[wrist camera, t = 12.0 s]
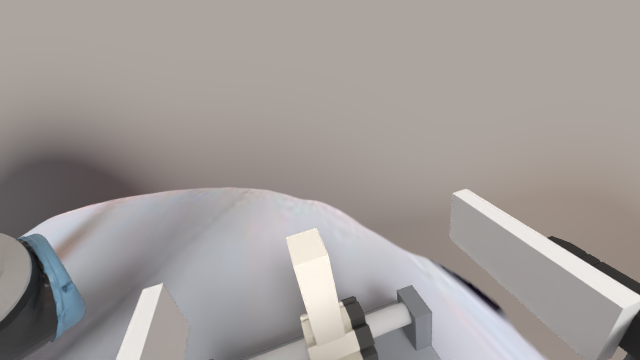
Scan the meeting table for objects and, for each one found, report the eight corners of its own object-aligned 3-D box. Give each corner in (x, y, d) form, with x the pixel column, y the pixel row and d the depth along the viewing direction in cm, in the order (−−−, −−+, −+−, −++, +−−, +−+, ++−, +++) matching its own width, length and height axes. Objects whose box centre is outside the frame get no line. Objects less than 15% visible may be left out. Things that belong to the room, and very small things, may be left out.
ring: (367, 382, 30) (360, 343, 27) (345, 326, 36) (337, 288, 33) (380, 376, 30) (375, 337, 27) (356, 321, 36) (349, 284, 33)
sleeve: (323, 401, 29) (284, 283, 21) (308, 339, 35) (273, 231, 27) (367, 382, 30) (345, 262, 22) (345, 326, 36) (321, 216, 28)
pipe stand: (213, 480, 27) (182, 447, 23) (219, 375, 36) (197, 339, 32) (447, 378, 31) (450, 336, 28) (401, 306, 40) (399, 268, 36)
